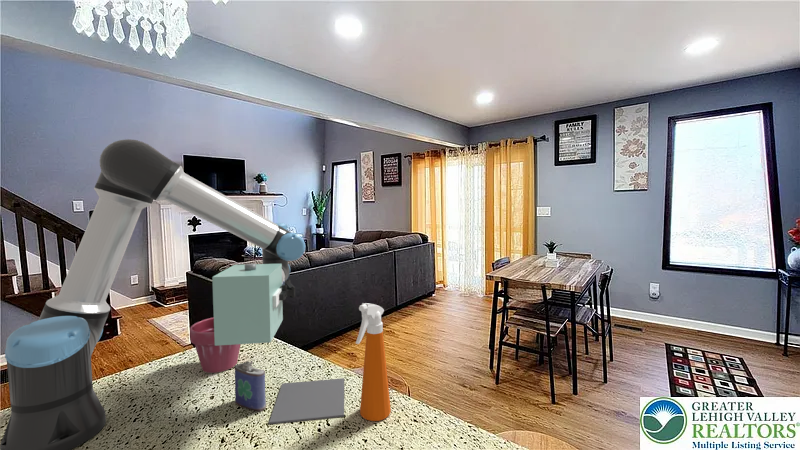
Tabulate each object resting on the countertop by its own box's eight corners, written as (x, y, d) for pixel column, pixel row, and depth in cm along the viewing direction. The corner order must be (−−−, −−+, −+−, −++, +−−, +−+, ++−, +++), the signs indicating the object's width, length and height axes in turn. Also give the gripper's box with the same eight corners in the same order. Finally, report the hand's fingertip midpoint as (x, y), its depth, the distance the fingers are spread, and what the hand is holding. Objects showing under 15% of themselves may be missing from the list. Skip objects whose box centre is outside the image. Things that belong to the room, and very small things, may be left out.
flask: (268, 407, 80) (266, 362, 79) (258, 414, 77) (256, 368, 76) (241, 397, 84) (240, 355, 83) (231, 403, 81) (229, 360, 81)
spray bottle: (344, 426, 73) (342, 305, 71) (370, 399, 82) (369, 292, 81) (372, 436, 70) (371, 310, 68) (396, 407, 79) (395, 296, 78)
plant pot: (180, 372, 96) (177, 327, 95) (223, 351, 109) (221, 312, 108) (216, 382, 91) (214, 335, 90) (256, 359, 104) (255, 318, 103)
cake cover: (214, 345, 72) (212, 271, 71) (236, 322, 86) (234, 259, 85) (270, 342, 73) (268, 269, 72) (282, 320, 87) (281, 258, 86)
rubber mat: (269, 424, 74) (268, 422, 74) (282, 384, 89) (282, 383, 89) (344, 416, 76) (344, 414, 76) (344, 379, 92) (344, 378, 92)
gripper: (311, 291, 99) (301, 316, 77) (224, 295, 95) (188, 322, 74) (311, 266, 98) (301, 284, 77) (223, 268, 95) (187, 287, 73)
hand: (246, 302), depth 75 cm, fingers closed on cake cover, 11 cm apart
